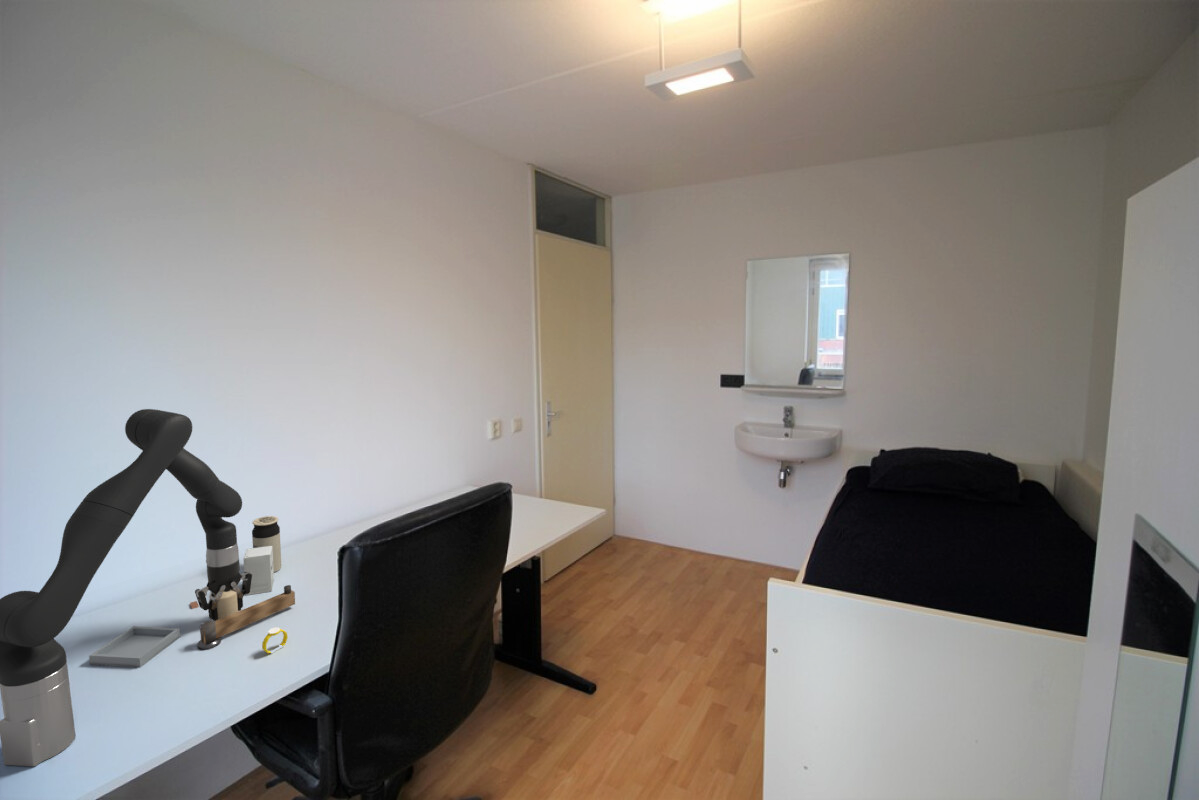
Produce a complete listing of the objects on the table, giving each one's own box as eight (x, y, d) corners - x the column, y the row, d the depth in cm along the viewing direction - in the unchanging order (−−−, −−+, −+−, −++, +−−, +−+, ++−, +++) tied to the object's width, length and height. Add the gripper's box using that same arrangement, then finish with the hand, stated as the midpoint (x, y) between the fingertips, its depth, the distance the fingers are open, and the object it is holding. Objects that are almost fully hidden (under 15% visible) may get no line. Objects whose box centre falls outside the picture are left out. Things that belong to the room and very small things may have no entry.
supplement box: (272, 591, 170) (270, 554, 168) (244, 596, 166) (242, 558, 164) (274, 580, 176) (273, 545, 174) (248, 584, 173) (246, 548, 171)
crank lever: (205, 644, 140) (203, 624, 139) (199, 640, 142) (197, 619, 141) (296, 604, 161) (295, 586, 160) (290, 601, 162) (289, 583, 161)
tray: (140, 667, 132) (139, 658, 132) (90, 664, 133) (89, 655, 132) (180, 637, 145) (179, 628, 145) (134, 634, 145) (133, 626, 145)
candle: (226, 628, 150) (224, 595, 148) (210, 624, 151) (207, 592, 149) (243, 617, 155) (241, 585, 154) (227, 614, 156) (225, 582, 155)
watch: (267, 658, 139) (265, 638, 137) (261, 655, 140) (258, 635, 139) (290, 645, 144) (287, 626, 142) (284, 642, 145) (281, 622, 144)
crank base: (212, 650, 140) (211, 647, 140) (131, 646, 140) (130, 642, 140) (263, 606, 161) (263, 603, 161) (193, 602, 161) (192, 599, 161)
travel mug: (276, 562, 189) (273, 513, 186) (285, 569, 184) (283, 520, 181) (250, 569, 183) (247, 519, 180) (259, 577, 178) (256, 526, 175)
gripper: (200, 573, 142) (204, 631, 145) (257, 554, 154) (260, 607, 157) (186, 565, 146) (191, 622, 149) (243, 547, 158) (246, 599, 161)
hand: (226, 614), depth 153 cm, fingers closed on candle, 5 cm apart
